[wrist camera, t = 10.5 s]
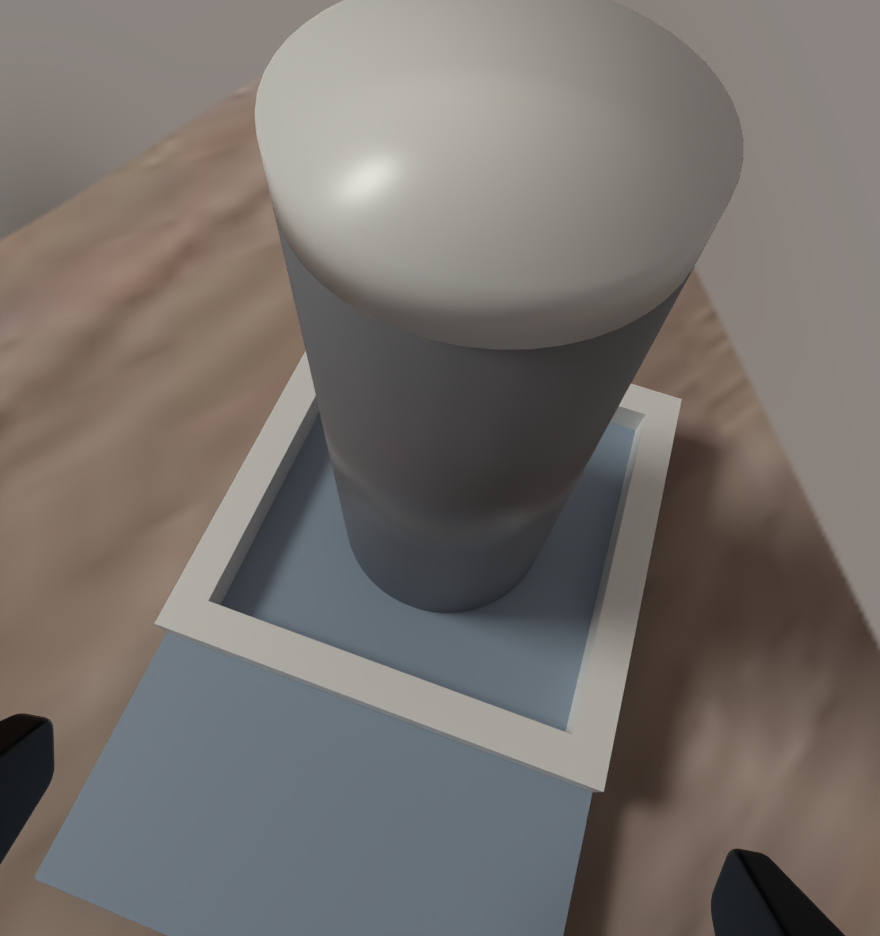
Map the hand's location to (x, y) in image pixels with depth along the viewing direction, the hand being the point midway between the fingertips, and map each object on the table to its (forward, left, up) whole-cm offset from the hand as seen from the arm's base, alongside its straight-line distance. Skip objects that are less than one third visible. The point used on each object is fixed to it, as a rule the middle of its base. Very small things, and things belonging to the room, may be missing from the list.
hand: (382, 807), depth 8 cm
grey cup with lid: (+8, +1, -8) cm, 12 cm away
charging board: (+5, +1, -9) cm, 11 cm away
